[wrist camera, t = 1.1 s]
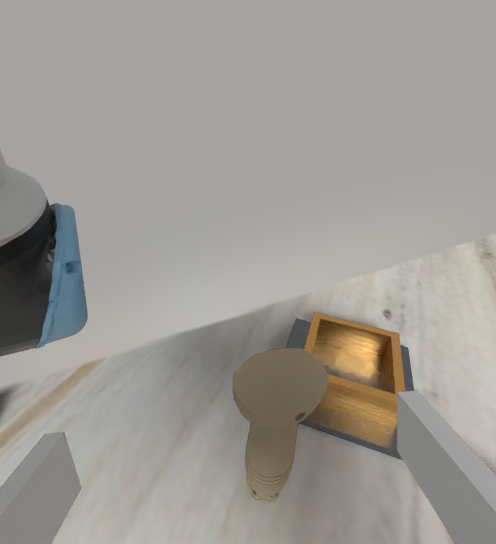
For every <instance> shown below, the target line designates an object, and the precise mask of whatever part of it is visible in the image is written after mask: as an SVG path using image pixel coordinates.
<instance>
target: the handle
mask: <svg viewBox="0 0 496 544" xmlns="http://www.w3.org/2000/svg"><path fill="white" fill-rule="evenodd" d="M328 384H329V378H328V375H327V372H326V370H325V368H324V367H323V365H322V364H321V363H320V362H319V361H318V360H317V359H316V358H315V357H314V356H313V355H312V354H310V353H309V352H307V351H305V350H303V349H297V348H278V349H273V350H269V351H266V352H263V353H260V354H258V355H255V356H253V357H251V358H250V359H249V360H247V361H246V362H245V363H244V364H243V365H242V366H241V367H240V368H239V369H238V370H237V371H236V372H235V373H234V376H233V395H234V400H235V402H236V405H237V407H238V409H239V410H240V412H241V413H242V415H243V416H244V417H245V418H246V419H247V420H249V421H250V422H251V424H250V430H249V435H248V440H247V445H246V456H245V463H246V473H247V483H248V485H249V486H250V487H251V489H252V492H253V497H254V498H255V499H256V500H258V499H267V500H269V501H270V502H272V501H274V500H275V499H276V498H277V497H278V492H279V491H280V490H281V489H282V487H283V486H284V484H285V482H286V480H287V478H288V476H289V473H290V470H291V467H292V463H293V459H294V451H295V442H296V434H297V427H298V423H299V422H300V421H302V420H304V419H305V418H306V417H307V416H308V415H309V414H311V413H312V412H313V411H314V409H315V408H316V407H317V406H318V404H319V403H320V401H321V400H322V398H323V396H324V395H325V393H326V391H327V388H328Z"/></svg>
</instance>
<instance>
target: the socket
mask: <svg viewBox="0 0 496 544" xmlns="http://www.w3.org/2000/svg"><path fill="white" fill-rule="evenodd" d="M287 348H297V349H303V350H305V351H307V352H309V353H310V354H312V355H313V356H314V357H315V358H316V359H317V360H318V361H319V362H320V363H321V364H322V365H323V367H324V368H325V370H326V372H327V375H328V378H329V384H328V388H327V391H326V393H325V395H324V396H323V398H322V400H321V401H320V403H319V404H318V406H317V407H316V408H315V409H314V411H313V412H312V413H311V414H309V415H308V416H307V417H306V418H305V419H304V420H302V421H300V422H299V423H300V424H303V425H306V426H309V427H312V428H314V429H317V430H320V431H323V432H326V433H328V434H331V435H334V436H337V437H340V438H342V439H345V440H348V441H351V442H354V443H356V444H359V445H362V446H365V447H368V448H371V449H373V450H376V451H379V452H382V453H385V454H387V455H390V456H393V457H396V458H399V459H401V460H403V459H402V458H401V456H400V454H399V453H398V451H397V393H398V392H406V391H414V388H413V380H412V373H411V366H410V358H409V351H408V347H404V346H400V338H399V333H395V332H391V331H387V330H383V329H379V328H375V327H371V326H367V325H363V324H359V323H355V322H351V321H347V320H343V319H339V318H335V317H331V316H327V315H323V314H319V313H315V312H314V315H313V318H312V322H308V321H304V320H300V319H296V322H295V325H294V328H293V330H292V333H291V336H290V339H289V342H288V345H287Z"/></svg>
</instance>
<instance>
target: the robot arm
mask: <svg viewBox="0 0 496 544" xmlns="http://www.w3.org/2000/svg"><path fill="white" fill-rule="evenodd" d="M86 322H87V307H86V299H85V291H84V282H83V275H82V267H81V259H80V252H79V243H78V235H77V228H76V220H75V212H74V209H73V208H72V207H70V206H67V205H61V204H58V203H56V204H53V205H50V206H49V203H48V200H47V198H46V195H45V192H44V191H43V189H42V187H41V185H40V184H39V183H38V182H37V181H36V180H35V179H34V178H32V177H30V176H29V175H27V174H25V173H23V172H21V171H19V170H16V169H14V168H12V167H10V166H8V165H7V164H6V162H5V160H4V157H3V155H2V153H1V150H0V356H3V355H8V354H12V353H16V352H20V351H24V350H28V349H32V348H40V347H42V346H44V345H45V344H46V343H49V342H53V341H56V340H59V339H62V338H66V337H69V336H72V335H74V334H76V333H78V332H79V331H80V330H82V329H83V327H84V326H85V324H86ZM397 451H398V453H399V454H400V456H401V458H402V459H403V461H404V462H405V464H406V465H407V467H408V469H409V470H410V472H411V473H412V475H413V477H414V478H415V480H416V481H417V483H418V485H419V486H420V488H421V489H422V491H423V492H424V494H425V496H426V497H427V499H428V500H429V502H430V504H431V505H432V507H433V508H434V510H435V511H436V513H437V515H438V516H439V518H440V519H441V521H442V523H443V524H444V526H445V527H446V529H447V530H448V532H449V534H450V535H451V537H452V538H453V540H454V542H455V543H456V544H496V474H495V473H494V472H493V471H492V470H491V469H490V468H489V467H488V466H487V465H486V464H485V463H484V462H483V460H482V459H481V458H480V457H479V456H478V455H477V454H476V453H475V452H474V451H473V450H472V449H471V448H470V447H469V445H468V444H467V443H466V442H465V441H464V440H463V439H462V438H461V437H460V436H459V435H458V434H457V433H456V432H455V431H454V429H453V428H452V427H451V426H450V425H449V424H448V423H447V422H446V421H445V420H444V419H443V418H442V417H441V416H440V414H439V413H438V412H437V411H436V410H435V409H434V408H433V407H432V406H431V405H430V404H429V403H428V402H427V401H426V400H425V398H424V397H423V396H422V395H421V394H420V393H419V392H418V391H417V390H415V391H406V392H398V393H397ZM80 490H81V485H80V481H79V478H78V475H77V472H76V469H75V465H74V462H73V459H72V456H71V453H70V449H69V446H68V443H67V440H66V436H65V433H64V432H61V433H53V434H45V435H44V436H43V437H42V438H41V439H40V441H39V442H38V443H37V444H36V445H35V447H34V448H33V449H32V450H31V451H30V453H29V454H28V455H27V456H26V457H25V459H24V460H23V461H22V462H21V463H20V465H19V466H18V467H17V468H16V470H15V471H14V472H13V473H12V474H11V476H10V477H9V478H8V479H7V480H6V482H5V483H4V484H3V485H2V486H1V488H0V544H51V543H52V541H53V539H54V537H55V535H56V534H57V532H58V530H59V528H60V526H61V525H62V523H63V521H64V519H65V517H66V515H67V514H68V512H69V510H70V508H71V506H72V505H73V503H74V501H75V499H76V497H77V495H78V494H79V492H80Z"/></svg>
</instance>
